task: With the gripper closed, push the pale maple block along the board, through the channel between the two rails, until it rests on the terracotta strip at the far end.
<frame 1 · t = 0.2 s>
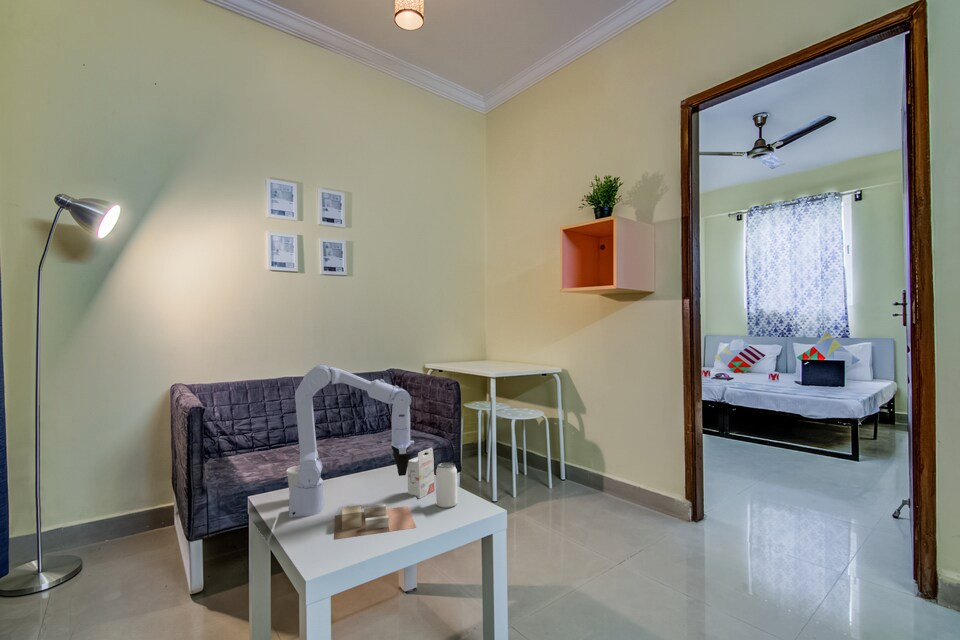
hand: (401, 471, 139), 10 cm above the table, tool pointing down, fingers open, 7 cm apart
ink cartridge box: (421, 494, 148), on the table
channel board: (374, 525, 124), on the table
can: (446, 505, 138), on the table
dixie cup: (300, 500, 144), on the table
maple block: (351, 524, 122), point 1 cm above the table, touching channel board
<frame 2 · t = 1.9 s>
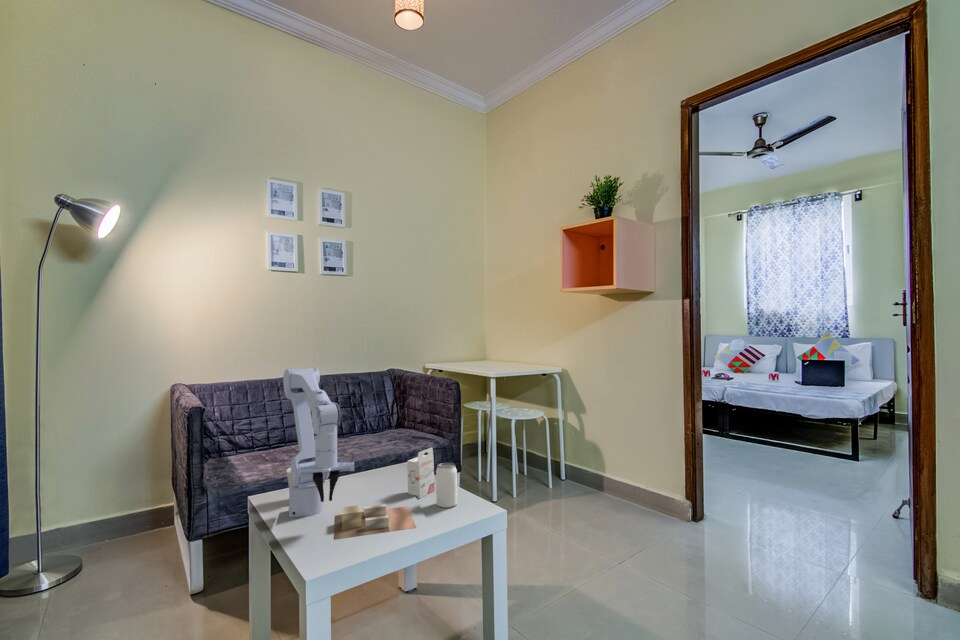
hand: (326, 500, 120), 8 cm above the table, tool pointing down, fingers closed
nothing on the table moved.
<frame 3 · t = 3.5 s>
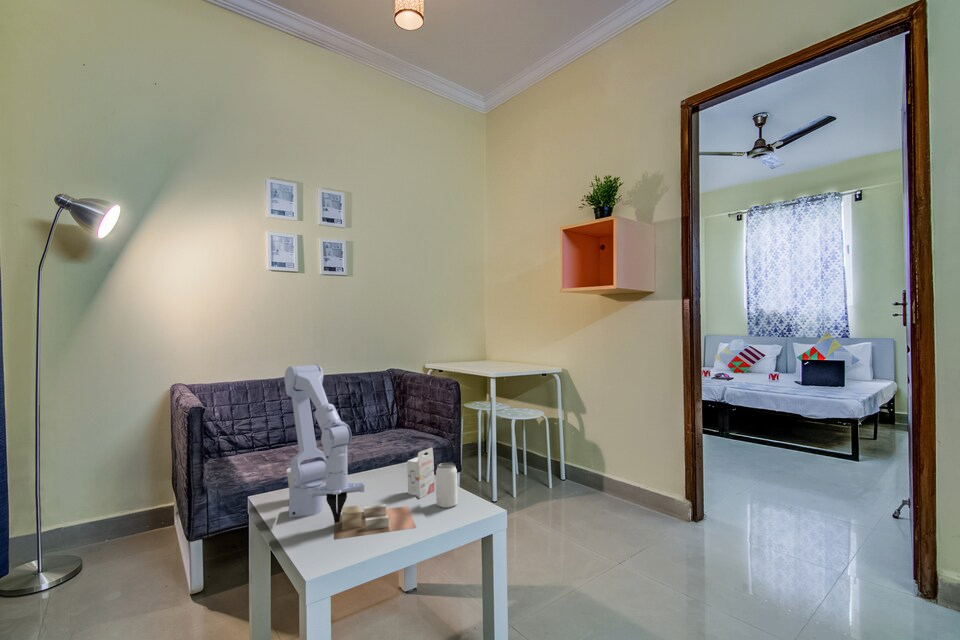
hand: (336, 521, 121), 2 cm above the table, tool pointing down, fingers closed
maple block: (351, 524, 122), point 1 cm above the table, touching gripper
everything else where it was.
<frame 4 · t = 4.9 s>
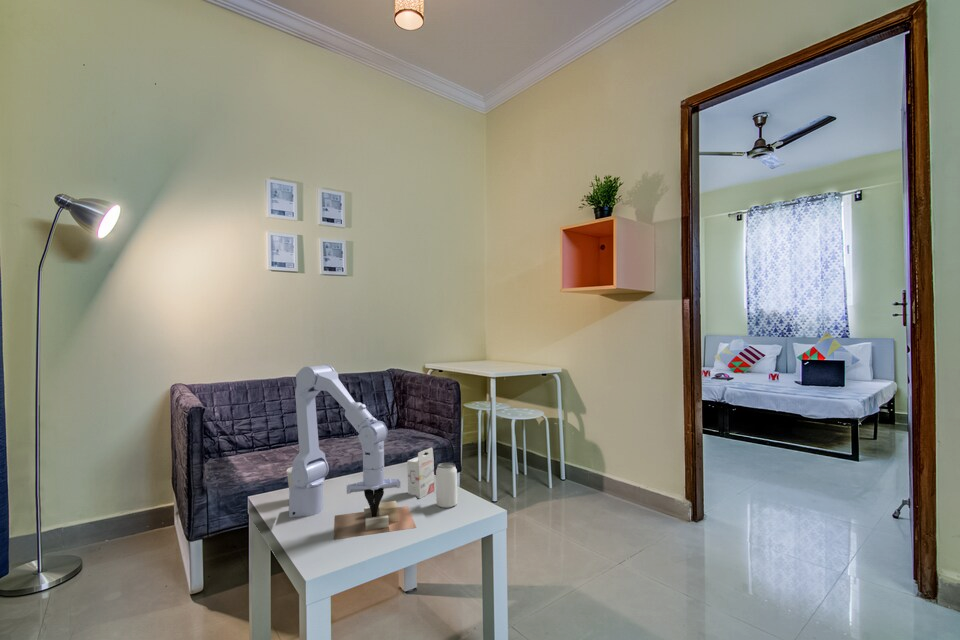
hand: (374, 516, 124), 2 cm above the table, tool pointing down, fingers closed
maple block: (387, 519, 125), point 1 cm above the table, touching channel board, gripper
everything else where it was.
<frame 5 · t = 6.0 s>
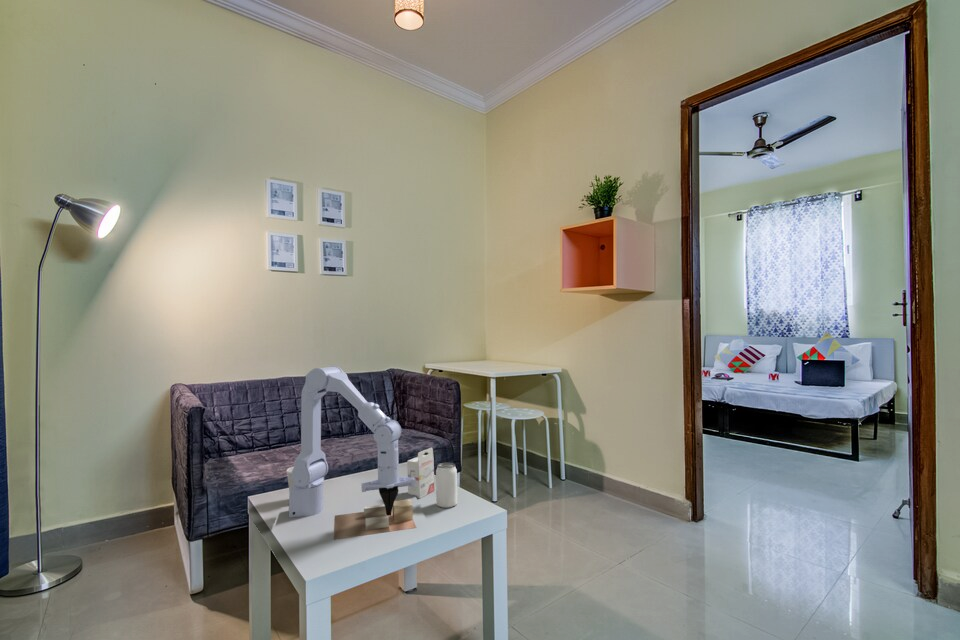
hand: (388, 514, 125), 2 cm above the table, tool pointing down, fingers closed
maple block: (402, 517, 126), point 1 cm above the table, touching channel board, gripper
everything else where it was.
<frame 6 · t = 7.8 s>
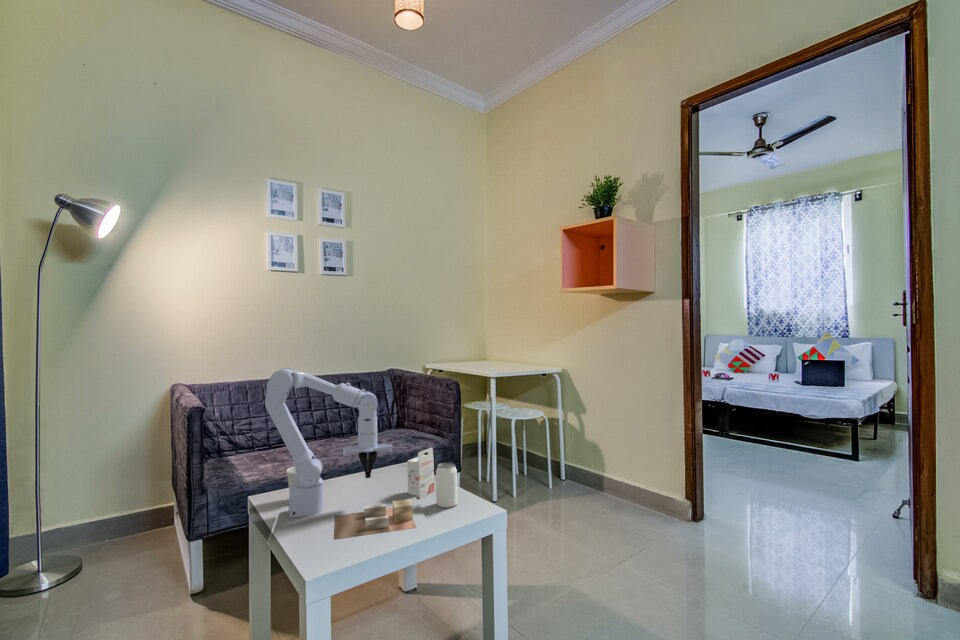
hand: (367, 477, 136), 9 cm above the table, tool pointing down, fingers closed
maple block: (402, 517, 126), point 1 cm above the table, touching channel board
everything else where it was.
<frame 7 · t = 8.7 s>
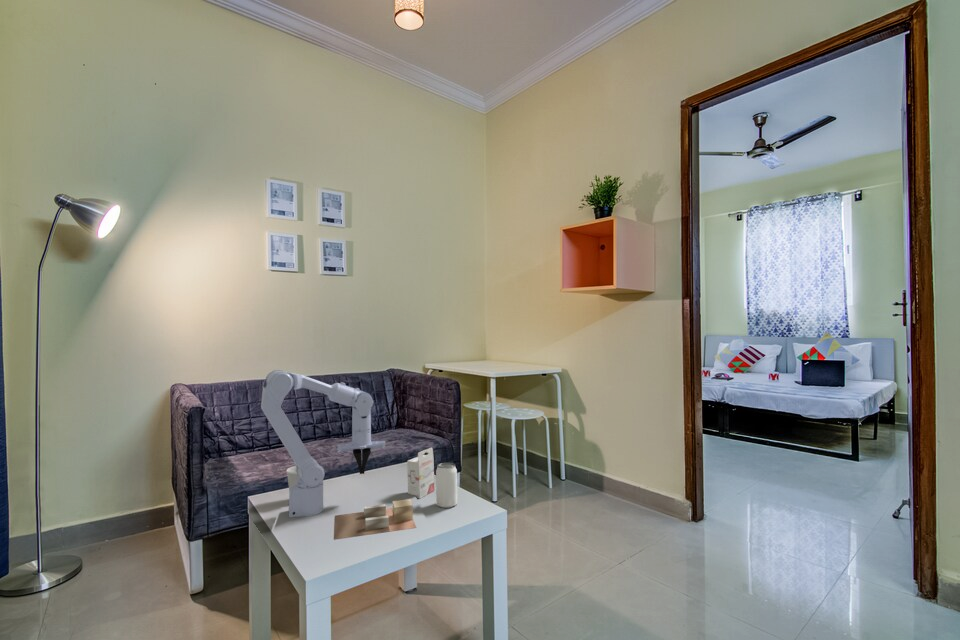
hand: (361, 472, 140), 9 cm above the table, tool pointing down, fingers closed
nothing on the table moved.
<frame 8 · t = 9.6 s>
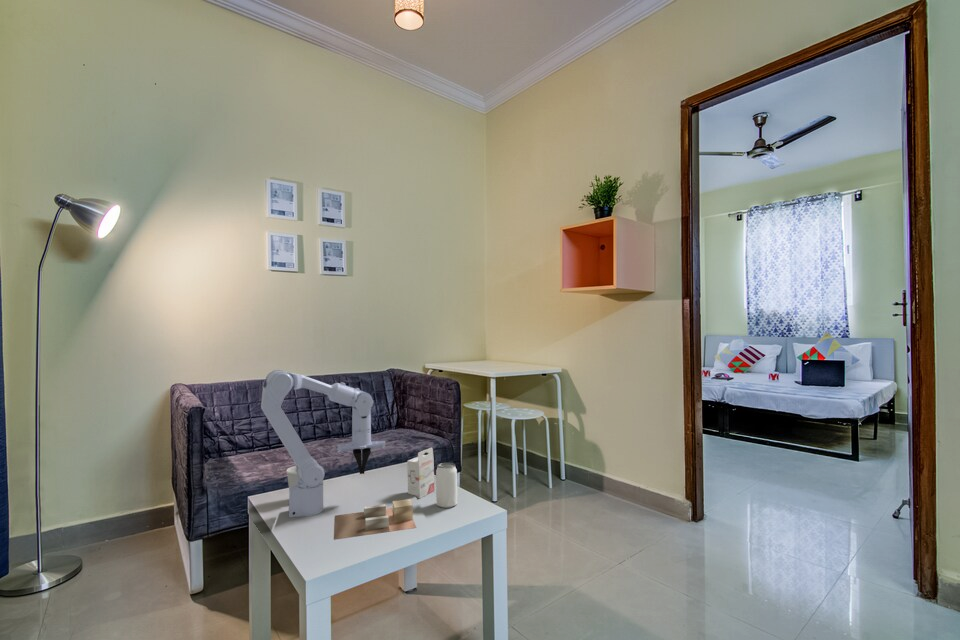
hand: (361, 472, 140), 9 cm above the table, tool pointing down, fingers closed
nothing on the table moved.
at the end: maple block 0.2 cm from the target spot, point 1.0 cm above the table; maple block tilted 0° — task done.
